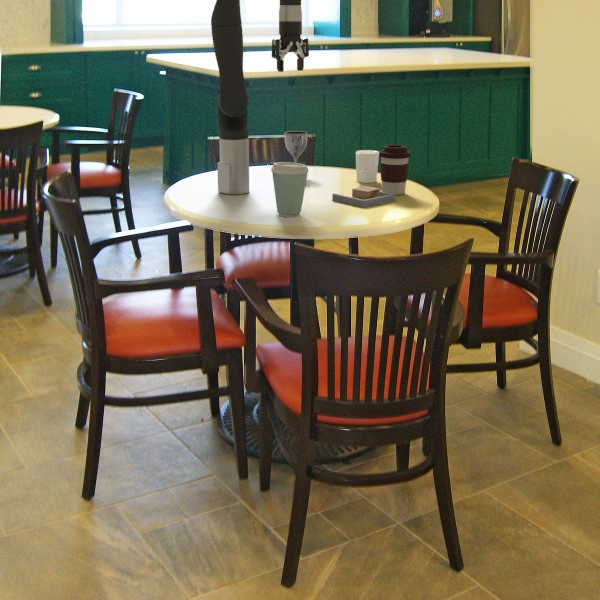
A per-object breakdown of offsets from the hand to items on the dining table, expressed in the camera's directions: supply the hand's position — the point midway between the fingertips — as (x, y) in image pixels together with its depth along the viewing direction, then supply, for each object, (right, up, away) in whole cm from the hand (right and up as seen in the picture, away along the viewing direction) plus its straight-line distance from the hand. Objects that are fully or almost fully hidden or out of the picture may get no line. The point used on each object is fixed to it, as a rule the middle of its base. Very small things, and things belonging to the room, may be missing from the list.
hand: (290, 71), depth 294 cm
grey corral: (+23, -45, -21) cm, 55 cm away
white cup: (+26, -36, +8) cm, 45 cm away
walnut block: (+23, -46, -22) cm, 56 cm away
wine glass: (+2, -32, +18) cm, 37 cm away
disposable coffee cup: (0, -52, -40) cm, 66 cm away
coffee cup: (+33, -42, -11) cm, 55 cm away
